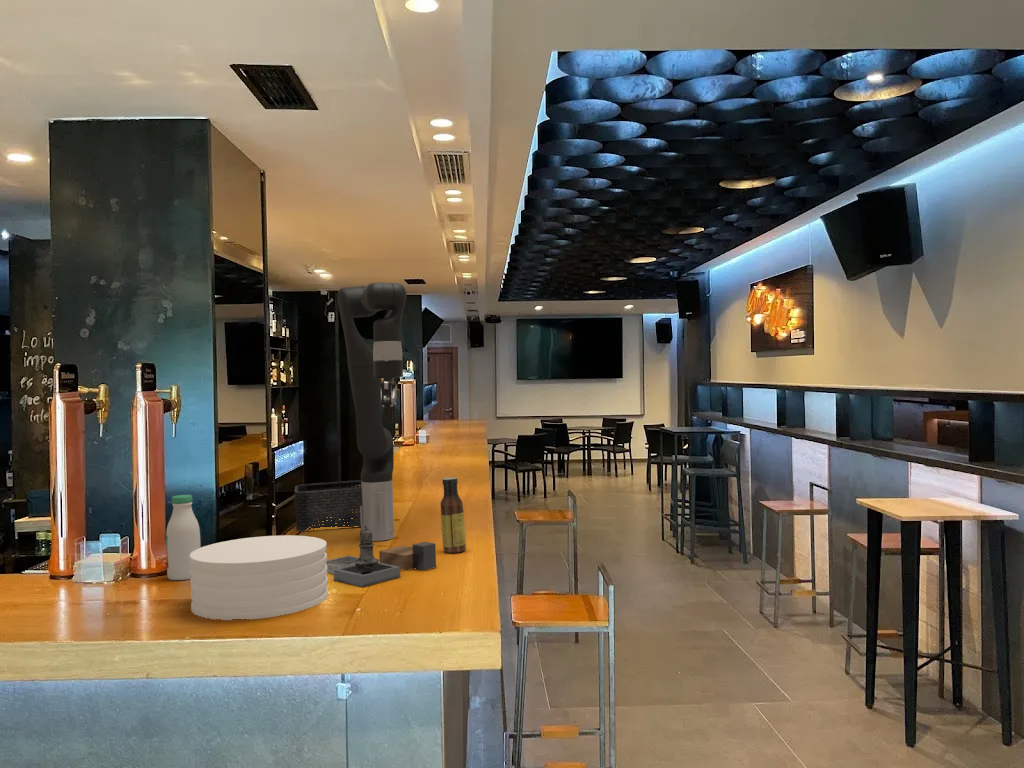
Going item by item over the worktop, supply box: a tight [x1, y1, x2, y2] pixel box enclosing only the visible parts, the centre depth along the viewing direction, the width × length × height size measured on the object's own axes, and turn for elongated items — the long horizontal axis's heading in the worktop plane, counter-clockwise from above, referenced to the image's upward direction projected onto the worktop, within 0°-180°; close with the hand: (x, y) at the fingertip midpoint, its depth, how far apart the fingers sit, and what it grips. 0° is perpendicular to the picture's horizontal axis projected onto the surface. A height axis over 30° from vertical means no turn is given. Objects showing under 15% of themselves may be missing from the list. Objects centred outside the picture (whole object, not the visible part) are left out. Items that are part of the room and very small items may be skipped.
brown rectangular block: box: [378, 545, 413, 571], centre depth 199 cm, size 10×8×4 cm
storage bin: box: [294, 479, 362, 533], centre depth 261 cm, size 29×19×13 cm
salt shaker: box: [354, 525, 380, 575], centre depth 185 cm, size 6×6×12 cm
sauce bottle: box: [440, 477, 467, 554], centre depth 213 cm, size 6×6×20 cm
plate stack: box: [189, 534, 329, 621], centre depth 169 cm, size 28×28×12 cm
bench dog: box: [411, 541, 437, 571], centre depth 194 cm, size 4×4×6 cm
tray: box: [333, 561, 401, 588], centre depth 185 cm, size 11×11×2 cm
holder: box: [325, 554, 360, 575], centre depth 196 cm, size 10×10×2 cm
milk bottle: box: [165, 494, 202, 581], centre depth 193 cm, size 8×8×20 cm
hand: (389, 421), depth 205 cm, fingers open, 8 cm apart
